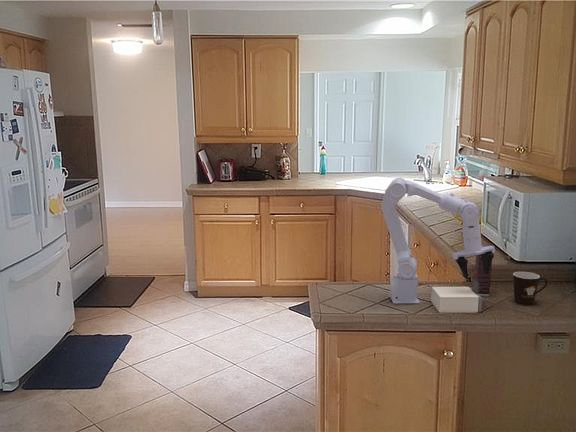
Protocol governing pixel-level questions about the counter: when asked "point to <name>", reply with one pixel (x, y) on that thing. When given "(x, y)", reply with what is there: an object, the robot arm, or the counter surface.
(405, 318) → the counter surface
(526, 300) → the coffee mug
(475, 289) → the tray
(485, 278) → the supplement box
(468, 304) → the sleeve
